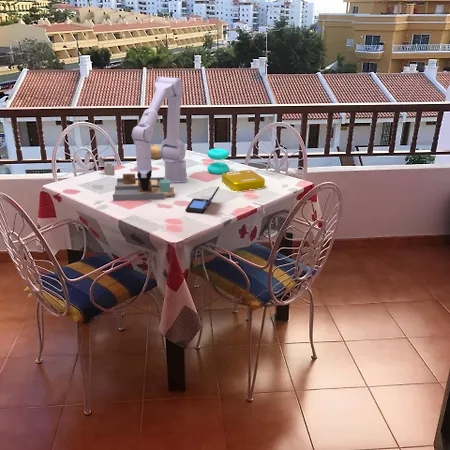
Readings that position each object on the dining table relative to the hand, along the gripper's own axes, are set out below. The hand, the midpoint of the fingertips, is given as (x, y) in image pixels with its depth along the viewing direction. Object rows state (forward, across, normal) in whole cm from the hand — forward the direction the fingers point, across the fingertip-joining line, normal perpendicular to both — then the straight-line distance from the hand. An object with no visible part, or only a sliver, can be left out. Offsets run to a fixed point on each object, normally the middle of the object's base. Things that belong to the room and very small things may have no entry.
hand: (145, 189), depth 193 cm
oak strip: (+2, 0, +4) cm, 5 cm away
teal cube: (+1, 0, +8) cm, 8 cm away
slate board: (+3, -5, -2) cm, 6 cm away
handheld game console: (+3, +14, +22) cm, 27 cm away
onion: (+3, -52, +3) cm, 53 cm away
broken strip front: (+2, -10, -6) cm, 12 cm away
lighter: (+3, -28, -18) cm, 33 cm away
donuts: (+3, -29, +32) cm, 43 cm away
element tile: (+3, -10, +41) cm, 43 cm away
